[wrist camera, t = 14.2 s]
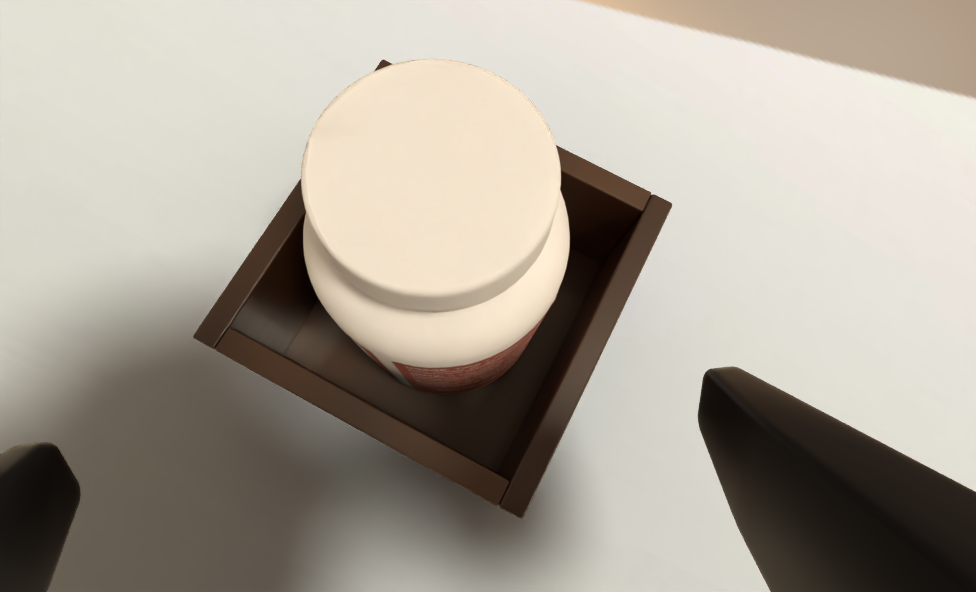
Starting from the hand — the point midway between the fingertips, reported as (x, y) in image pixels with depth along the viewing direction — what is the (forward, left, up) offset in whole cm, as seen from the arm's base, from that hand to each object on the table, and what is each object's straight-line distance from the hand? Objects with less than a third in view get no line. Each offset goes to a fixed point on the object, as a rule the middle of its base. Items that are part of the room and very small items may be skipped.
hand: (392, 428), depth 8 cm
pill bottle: (+2, -4, -12) cm, 13 cm away
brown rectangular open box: (+2, -4, -13) cm, 13 cm away
